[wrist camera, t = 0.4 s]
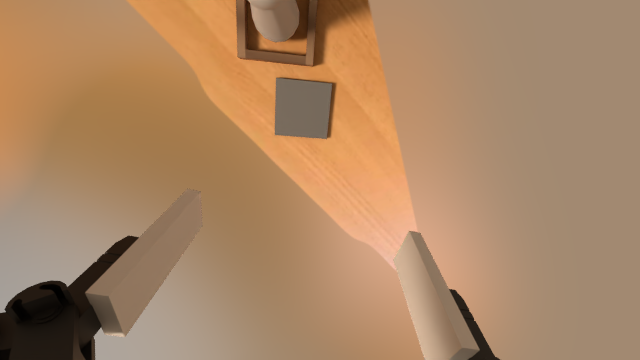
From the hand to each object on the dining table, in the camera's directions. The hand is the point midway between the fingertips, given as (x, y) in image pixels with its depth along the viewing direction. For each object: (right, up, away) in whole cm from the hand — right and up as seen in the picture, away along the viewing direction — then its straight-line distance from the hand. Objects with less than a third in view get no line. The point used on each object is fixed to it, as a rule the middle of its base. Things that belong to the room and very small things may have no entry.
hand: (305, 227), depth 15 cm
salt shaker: (-5, +24, +16) cm, 30 cm away
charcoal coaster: (-2, +14, +20) cm, 24 cm away
